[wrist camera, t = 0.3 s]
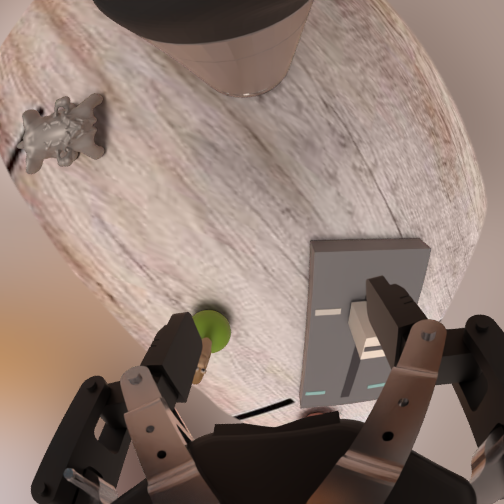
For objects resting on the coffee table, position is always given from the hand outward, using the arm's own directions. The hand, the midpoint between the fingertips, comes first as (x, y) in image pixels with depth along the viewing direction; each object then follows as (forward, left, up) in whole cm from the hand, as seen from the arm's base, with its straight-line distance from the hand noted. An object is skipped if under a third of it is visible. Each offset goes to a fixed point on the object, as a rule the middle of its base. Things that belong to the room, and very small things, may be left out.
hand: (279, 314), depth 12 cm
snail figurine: (+14, -8, -18) cm, 24 cm away
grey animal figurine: (-11, -23, -18) cm, 31 cm away
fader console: (+18, +11, -18) cm, 28 cm away
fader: (+12, +11, -15) cm, 22 cm away
